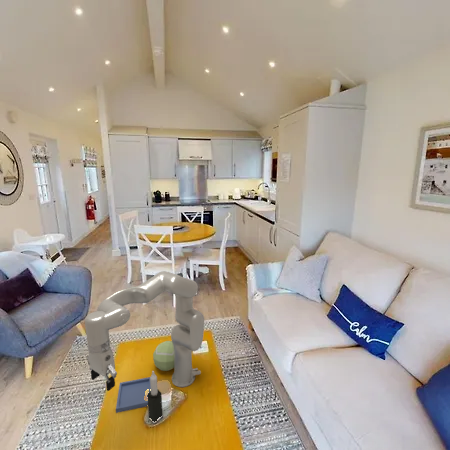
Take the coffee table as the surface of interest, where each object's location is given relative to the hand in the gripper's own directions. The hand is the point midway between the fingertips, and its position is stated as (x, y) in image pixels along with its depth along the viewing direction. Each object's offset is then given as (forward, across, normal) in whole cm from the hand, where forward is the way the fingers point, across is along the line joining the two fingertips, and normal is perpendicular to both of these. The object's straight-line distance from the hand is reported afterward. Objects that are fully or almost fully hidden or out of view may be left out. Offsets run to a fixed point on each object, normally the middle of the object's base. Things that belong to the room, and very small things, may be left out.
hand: (103, 382), depth 103 cm
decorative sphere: (+31, +12, -46) cm, 56 cm away
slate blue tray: (+31, +11, -22) cm, 40 cm away
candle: (+31, -6, -19) cm, 37 cm away
